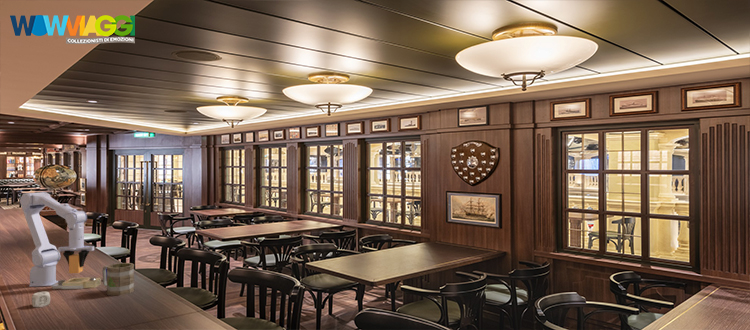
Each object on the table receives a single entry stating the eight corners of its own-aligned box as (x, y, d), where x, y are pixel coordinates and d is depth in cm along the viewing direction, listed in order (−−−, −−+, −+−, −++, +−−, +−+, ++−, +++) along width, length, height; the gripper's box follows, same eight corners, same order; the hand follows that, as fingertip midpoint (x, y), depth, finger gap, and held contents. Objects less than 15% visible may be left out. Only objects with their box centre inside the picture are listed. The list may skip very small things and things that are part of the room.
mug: (139, 290, 200) (140, 263, 199) (118, 297, 189) (119, 269, 189) (113, 286, 205) (114, 261, 205) (92, 293, 194) (92, 266, 194)
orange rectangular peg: (69, 273, 201) (69, 256, 201) (73, 271, 205) (73, 254, 205) (78, 273, 202) (78, 255, 202) (82, 270, 206) (82, 253, 206)
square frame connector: (50, 289, 199) (50, 281, 199) (60, 284, 207) (60, 277, 207) (94, 288, 202) (94, 280, 202) (102, 283, 210) (102, 275, 210)
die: (46, 302, 181) (46, 290, 181) (50, 305, 178) (50, 293, 178) (31, 305, 177) (31, 293, 177) (35, 308, 174) (35, 295, 174)
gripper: (54, 239, 199) (54, 269, 199) (89, 238, 201) (89, 268, 201) (62, 236, 206) (62, 265, 206) (96, 236, 208) (96, 264, 208)
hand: (76, 266), depth 204 cm, fingers closed on orange rectangular peg, 4 cm apart
